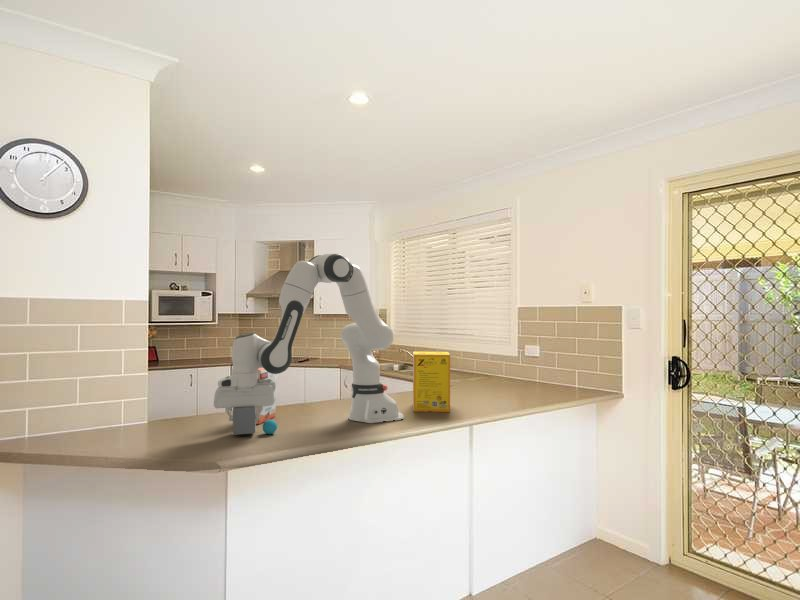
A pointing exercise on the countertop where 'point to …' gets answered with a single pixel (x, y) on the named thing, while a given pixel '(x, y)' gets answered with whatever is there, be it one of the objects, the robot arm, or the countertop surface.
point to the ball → (269, 426)
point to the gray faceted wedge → (244, 420)
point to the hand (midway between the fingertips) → (244, 419)
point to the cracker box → (270, 411)
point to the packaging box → (431, 381)
